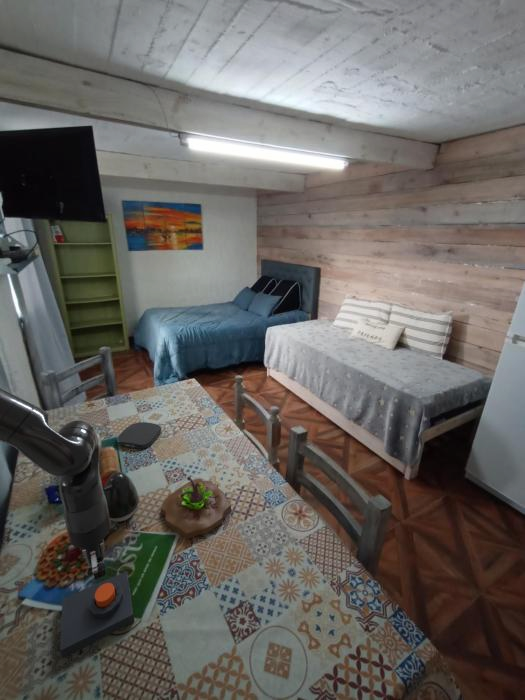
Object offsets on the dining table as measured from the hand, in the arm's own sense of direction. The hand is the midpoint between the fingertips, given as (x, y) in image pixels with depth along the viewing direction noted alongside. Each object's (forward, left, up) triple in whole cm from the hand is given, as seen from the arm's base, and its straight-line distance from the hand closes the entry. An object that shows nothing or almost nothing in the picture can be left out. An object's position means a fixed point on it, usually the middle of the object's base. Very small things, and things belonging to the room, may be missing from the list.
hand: (100, 574), depth 69 cm
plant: (+27, +18, -12) cm, 35 cm away
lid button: (0, 0, -8) cm, 8 cm away
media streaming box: (+17, +65, -12) cm, 68 cm away
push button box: (-2, 0, -12) cm, 12 cm away
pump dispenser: (+6, +27, -12) cm, 30 cm away
